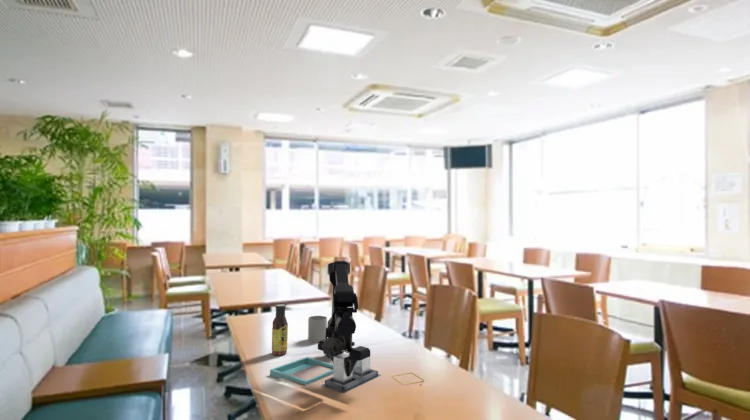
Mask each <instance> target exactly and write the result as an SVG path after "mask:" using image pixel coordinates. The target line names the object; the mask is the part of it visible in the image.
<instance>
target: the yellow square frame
mask: <svg viewBox="0 0 750 420" xmlns="http://www.w3.org/2000/svg"><path fill="white" fill-rule="evenodd" d="M410 374H412V375H414V376H415V377H417V378H418V379H420V381H416V382H410V383H406V384H403V383H402V382H400V381H399V380H398V379H396V378H395V377H399V376H404V375H410ZM391 378H392V379H394V380H395V381H396V382H398V383H399V384H401V385H402V386H406V385H412V384H418V383H421V384H419V386H421V385H422V382H425V381H426V380H424V379H423V378H422V377H420V376H418V375H416V373H414V372H407V373H406V372H405V373H402V374H394V375H392V376H391Z"/></svg>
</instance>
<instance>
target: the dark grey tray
mask: <svg viewBox="0 0 750 420" xmlns="http://www.w3.org/2000/svg"><path fill="white" fill-rule="evenodd" d="M380 376H382V374H379V371H378V370H376V369H372V368H370V373H369V374H367V375H365V376H363V377H362V376H359V375H356V374H352V380H351V381H349V382H347V383H345V384H342V383H339V382H335V381H333V376H332V377H330V378H329V377H328V378H327V379H325V380H324V383H323V384H321V386H322V387H324V388H328V389H329V390H334V391H335V392H336V391H337V392H340V393H342V394H345V393H348V392H350V391H351V390H354V389H355V388H358V387H360V386H362V385H364V384H366V383H368V382H371V381H373V380H374V379H376V378H378V377H380Z"/></svg>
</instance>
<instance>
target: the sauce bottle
mask: <svg viewBox="0 0 750 420" xmlns="http://www.w3.org/2000/svg"><path fill="white" fill-rule="evenodd" d="M288 325H289V324H288V321H287V318H286V304H282V303H281V304H276V305H275V317H274V319H273V320H272V329H271V350H272V351H271V354H272V355H273V356H283V355H286V354H287V352H288V351H287V350H288V331H289V328H288V327H289V326H288Z"/></svg>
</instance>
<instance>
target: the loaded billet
mask: <svg viewBox="0 0 750 420" xmlns="http://www.w3.org/2000/svg"><path fill="white" fill-rule="evenodd" d="M370 369H371V356H370V357H368V358H365V359H363V360H360V361H357V362H356V364H355V366H354V368H353V372H352V374H356V375H359V376H362V377H363V376H365V375H367V374H369V373H370Z"/></svg>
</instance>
